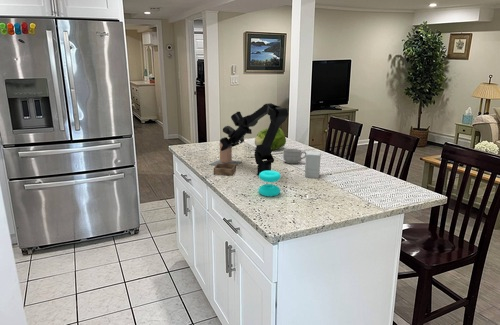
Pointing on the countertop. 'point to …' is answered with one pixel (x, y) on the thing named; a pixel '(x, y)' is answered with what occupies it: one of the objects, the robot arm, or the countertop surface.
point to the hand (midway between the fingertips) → (223, 149)
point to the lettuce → (278, 140)
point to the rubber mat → (225, 163)
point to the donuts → (269, 188)
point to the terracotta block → (225, 154)
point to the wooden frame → (225, 169)
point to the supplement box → (312, 164)
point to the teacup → (293, 155)
